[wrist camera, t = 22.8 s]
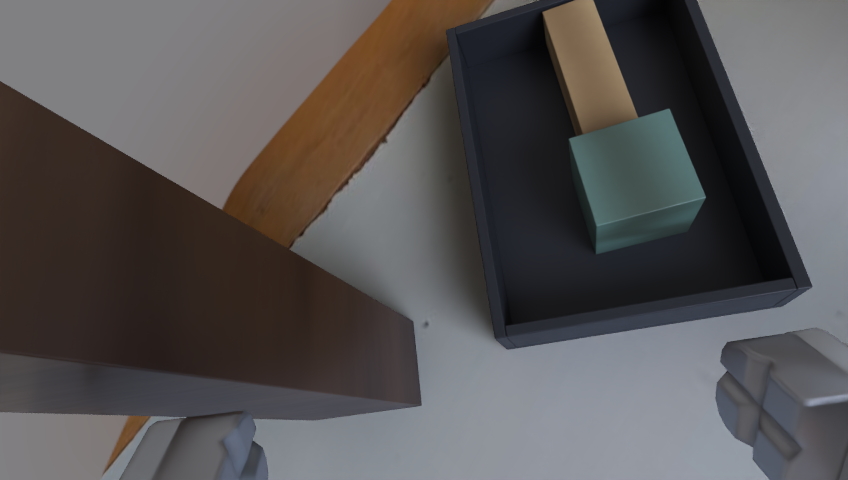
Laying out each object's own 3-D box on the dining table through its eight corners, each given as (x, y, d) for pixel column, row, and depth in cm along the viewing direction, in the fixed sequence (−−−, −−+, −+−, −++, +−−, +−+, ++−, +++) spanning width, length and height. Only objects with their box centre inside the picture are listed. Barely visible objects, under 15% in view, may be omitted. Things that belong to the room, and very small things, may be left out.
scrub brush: (606, 21, 34) (609, -39, 29) (688, 231, 28) (706, 197, 24) (530, 48, 35) (521, -7, 30) (595, 254, 29) (596, 226, 25)
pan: (506, 349, 30) (494, 339, 26) (460, 68, 37) (445, 29, 33) (783, 306, 26) (813, 287, 23) (670, 5, 34) (679, -45, 30)
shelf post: (313, 420, 32) (-477, 400, 8) (311, 339, 33) (-339, 136, 10) (421, 405, 30) (-189, 328, 7) (413, 321, 32) (-87, 28, 8)
